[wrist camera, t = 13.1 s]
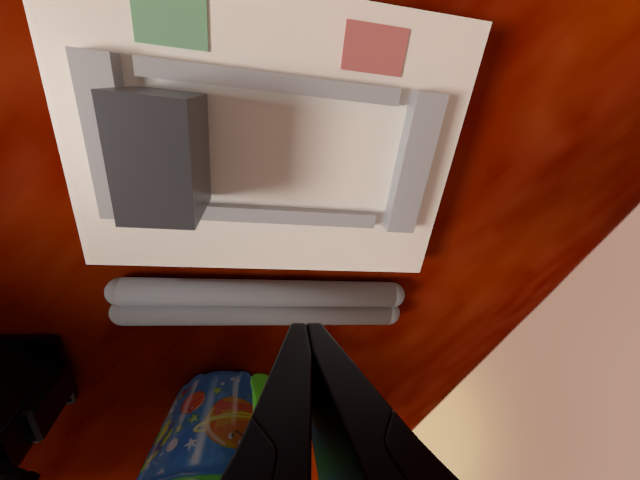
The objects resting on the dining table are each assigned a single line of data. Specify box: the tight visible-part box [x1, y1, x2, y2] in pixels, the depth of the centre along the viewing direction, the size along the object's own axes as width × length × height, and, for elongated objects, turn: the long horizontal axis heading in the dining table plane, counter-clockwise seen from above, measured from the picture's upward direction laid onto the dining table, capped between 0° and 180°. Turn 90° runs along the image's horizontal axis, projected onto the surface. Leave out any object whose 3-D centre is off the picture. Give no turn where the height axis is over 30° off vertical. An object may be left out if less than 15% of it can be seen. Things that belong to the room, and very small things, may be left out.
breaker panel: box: [23, 0, 492, 273], centre depth 17 cm, size 20×14×3 cm
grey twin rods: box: [104, 277, 405, 326], centre depth 18 cm, size 20×24×2 cm
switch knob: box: [91, 86, 211, 230], centre depth 14 cm, size 3×5×4 cm, turn 173°
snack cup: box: [137, 371, 268, 480], centre depth 23 cm, size 16×10×10 cm
